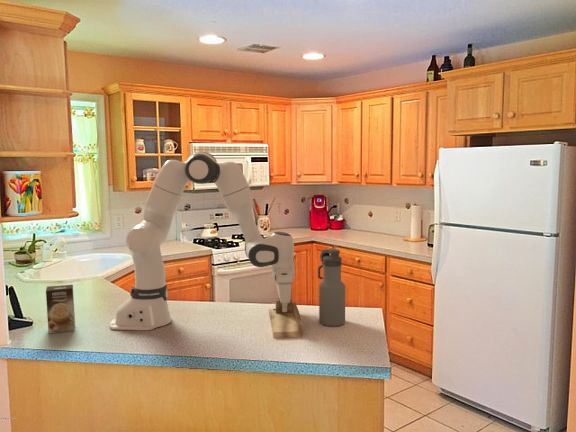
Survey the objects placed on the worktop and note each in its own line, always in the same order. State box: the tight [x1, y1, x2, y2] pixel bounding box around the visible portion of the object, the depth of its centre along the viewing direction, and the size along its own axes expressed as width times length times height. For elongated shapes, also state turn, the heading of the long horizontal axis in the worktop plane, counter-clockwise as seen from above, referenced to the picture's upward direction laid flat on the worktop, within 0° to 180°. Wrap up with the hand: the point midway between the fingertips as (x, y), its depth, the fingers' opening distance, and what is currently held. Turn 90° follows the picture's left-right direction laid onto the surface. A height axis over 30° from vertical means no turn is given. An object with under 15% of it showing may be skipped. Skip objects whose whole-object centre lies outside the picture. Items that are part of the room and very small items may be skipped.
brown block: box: [272, 297, 293, 314], centre depth 194 cm, size 7×4×5 cm, turn 95°
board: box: [268, 301, 304, 339], centre depth 186 cm, size 11×26×4 cm, turn 5°
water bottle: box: [317, 248, 346, 327], centre depth 186 cm, size 10×10×28 cm
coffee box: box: [45, 284, 76, 334], centre depth 183 cm, size 9×6×16 cm
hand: (283, 307), depth 195 cm, fingers open, 8 cm apart
